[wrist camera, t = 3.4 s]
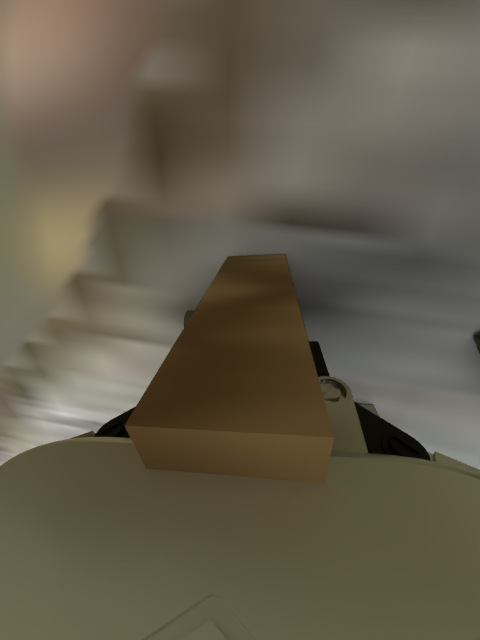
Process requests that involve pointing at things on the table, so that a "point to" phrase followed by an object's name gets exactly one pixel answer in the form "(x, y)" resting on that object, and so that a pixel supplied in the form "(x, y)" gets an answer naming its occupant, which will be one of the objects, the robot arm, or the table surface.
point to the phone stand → (477, 341)
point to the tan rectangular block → (238, 384)
